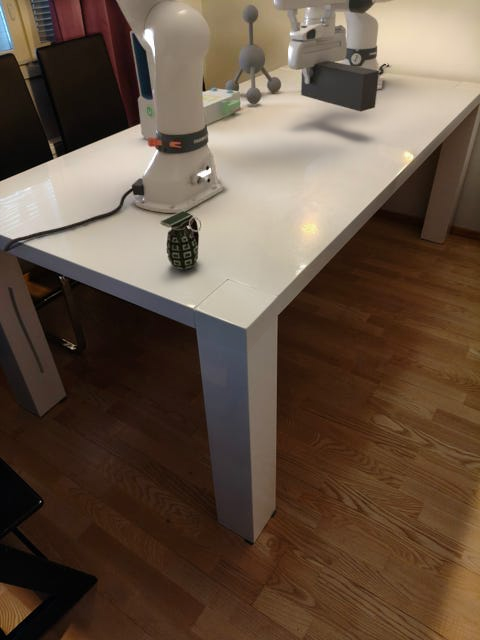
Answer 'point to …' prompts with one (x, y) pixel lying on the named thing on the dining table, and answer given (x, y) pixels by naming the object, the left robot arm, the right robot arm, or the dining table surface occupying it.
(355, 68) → the bar
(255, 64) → the molecular model
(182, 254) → the grenade
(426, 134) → the dining table surface
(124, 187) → the dining table surface
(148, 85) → the electronic device
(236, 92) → the decorative block
